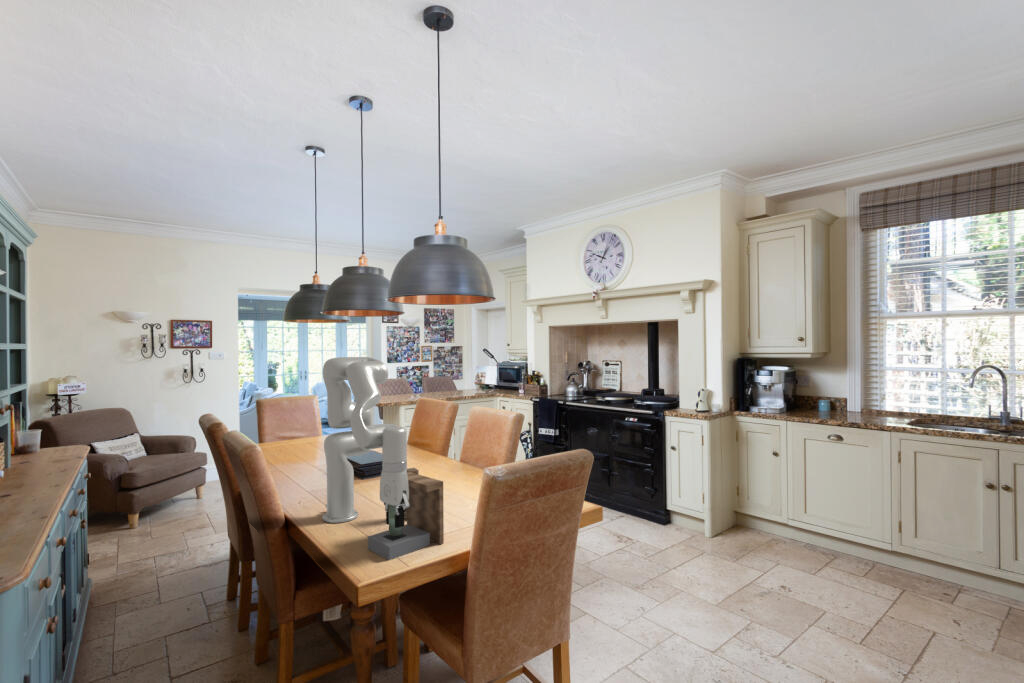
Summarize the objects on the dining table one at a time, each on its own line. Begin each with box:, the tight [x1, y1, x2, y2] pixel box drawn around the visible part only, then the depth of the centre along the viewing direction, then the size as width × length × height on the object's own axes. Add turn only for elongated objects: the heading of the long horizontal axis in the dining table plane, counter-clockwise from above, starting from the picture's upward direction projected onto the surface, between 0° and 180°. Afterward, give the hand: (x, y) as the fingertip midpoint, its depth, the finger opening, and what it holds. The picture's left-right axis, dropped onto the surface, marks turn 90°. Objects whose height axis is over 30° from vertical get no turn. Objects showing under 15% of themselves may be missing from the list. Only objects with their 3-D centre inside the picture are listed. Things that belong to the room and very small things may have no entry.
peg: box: [388, 505, 402, 536], centre depth 160 cm, size 4×4×10 cm
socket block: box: [367, 523, 431, 561], centre depth 161 cm, size 12×15×4 cm
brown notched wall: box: [406, 472, 445, 545], centre depth 168 cm, size 18×6×20 cm, turn 47°
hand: (395, 524), depth 160 cm, fingers closed on peg, 4 cm apart
